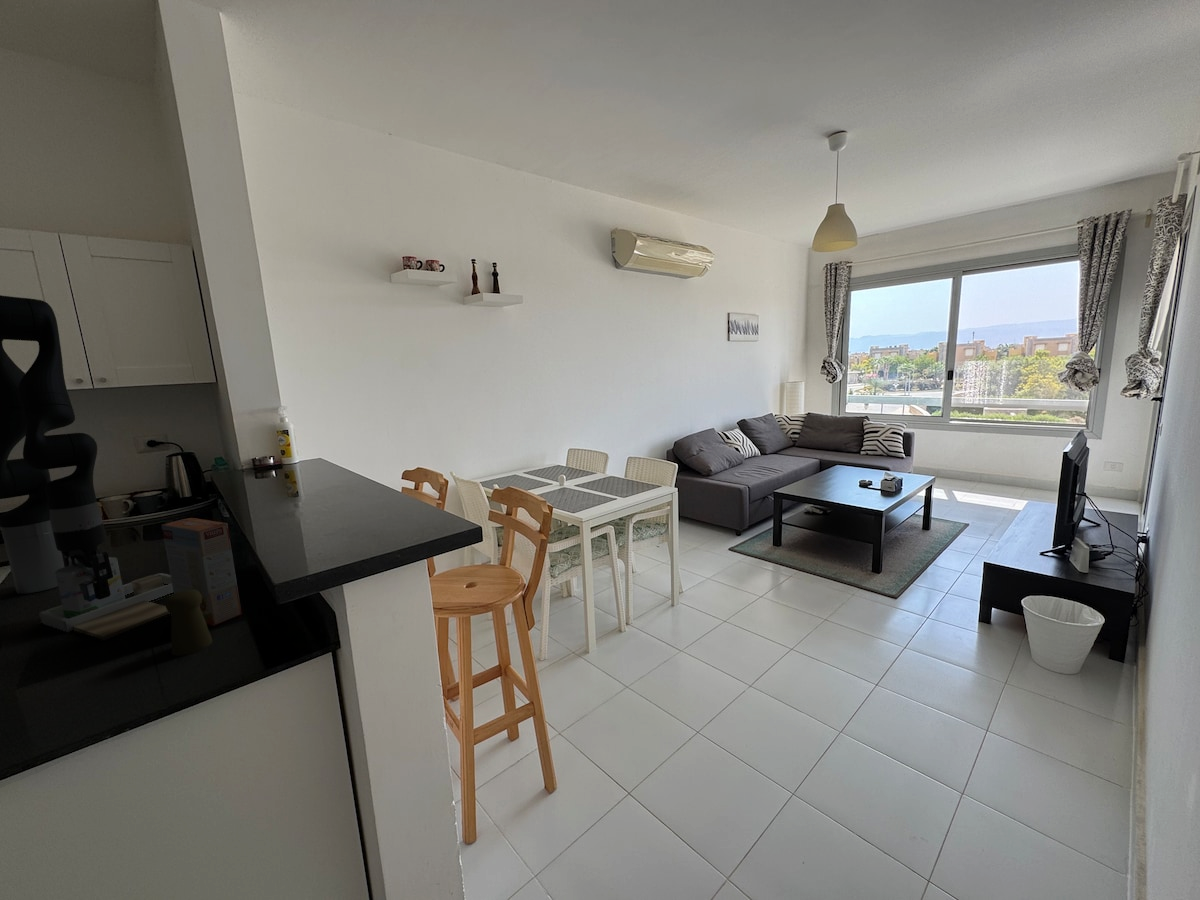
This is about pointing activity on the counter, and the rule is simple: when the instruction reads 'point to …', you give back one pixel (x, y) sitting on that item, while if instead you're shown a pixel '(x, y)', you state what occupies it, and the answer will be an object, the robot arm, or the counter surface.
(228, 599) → the cracker box
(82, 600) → the ink box
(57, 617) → the white slotted tray
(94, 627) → the striped wooden board
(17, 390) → the robot arm
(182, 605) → the pepper shaker
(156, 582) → the beech block
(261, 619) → the counter surface
